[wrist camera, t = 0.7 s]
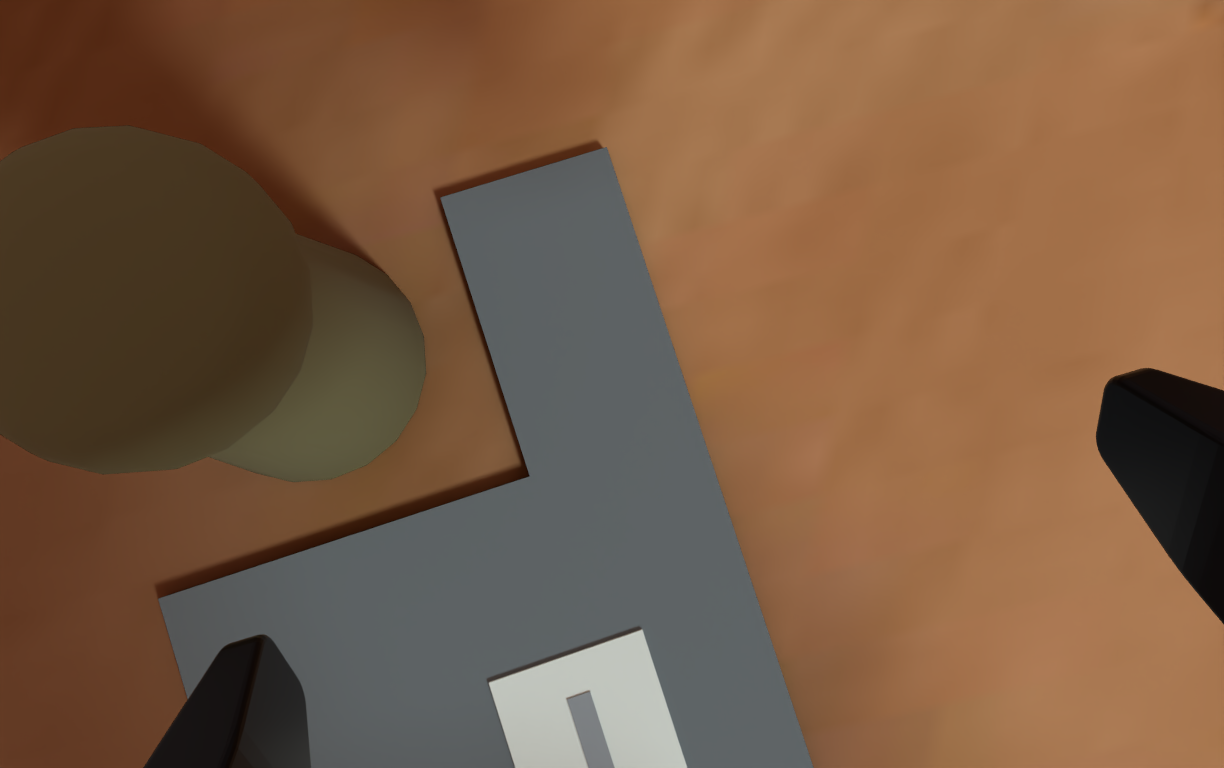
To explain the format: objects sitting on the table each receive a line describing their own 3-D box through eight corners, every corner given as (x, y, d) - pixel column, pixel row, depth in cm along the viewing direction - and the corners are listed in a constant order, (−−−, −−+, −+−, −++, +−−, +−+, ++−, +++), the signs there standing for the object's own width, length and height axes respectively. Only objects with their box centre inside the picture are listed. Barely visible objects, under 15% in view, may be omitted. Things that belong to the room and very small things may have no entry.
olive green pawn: (143, 425, 23) (-251, 401, 12) (246, 208, 23) (-39, -11, 12) (367, 520, 23) (185, 582, 12) (464, 301, 23) (375, 166, 12)
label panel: (853, 894, 23) (859, 902, 22) (311, 1098, 22) (306, 1111, 21) (605, 150, 24) (606, 145, 23) (78, 310, 23) (69, 307, 22)
